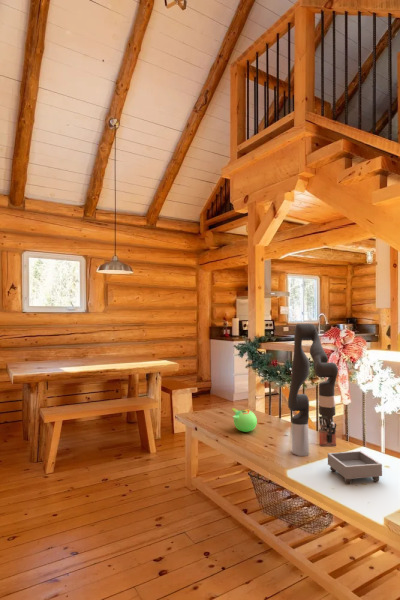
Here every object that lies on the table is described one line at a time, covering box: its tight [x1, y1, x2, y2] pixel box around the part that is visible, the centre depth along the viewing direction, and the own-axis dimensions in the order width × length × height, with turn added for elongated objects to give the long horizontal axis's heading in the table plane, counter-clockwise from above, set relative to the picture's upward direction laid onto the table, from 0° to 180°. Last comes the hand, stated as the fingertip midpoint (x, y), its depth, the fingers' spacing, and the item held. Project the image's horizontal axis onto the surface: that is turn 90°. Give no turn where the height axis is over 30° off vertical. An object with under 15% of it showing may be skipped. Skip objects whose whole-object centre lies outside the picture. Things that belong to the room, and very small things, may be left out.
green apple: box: [231, 407, 258, 433], centre depth 265 cm, size 18×17×15 cm
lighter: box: [318, 424, 337, 448], centre depth 185 cm, size 8×3×10 cm, turn 91°
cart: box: [327, 450, 383, 485], centre depth 190 cm, size 18×18×8 cm
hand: (327, 440), depth 185 cm, fingers closed on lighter, 3 cm apart
